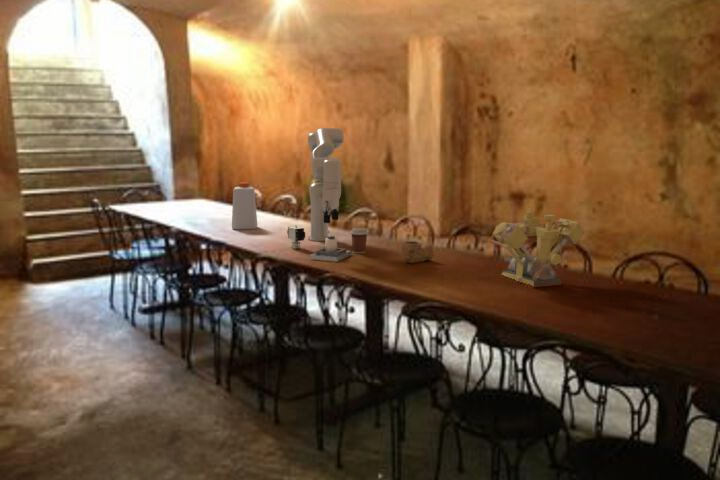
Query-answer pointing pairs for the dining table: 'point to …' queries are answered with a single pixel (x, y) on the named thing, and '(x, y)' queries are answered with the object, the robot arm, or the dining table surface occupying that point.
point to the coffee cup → (359, 239)
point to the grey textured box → (417, 251)
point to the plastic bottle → (244, 208)
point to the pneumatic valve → (296, 235)
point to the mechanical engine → (547, 247)
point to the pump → (331, 244)
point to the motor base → (330, 255)
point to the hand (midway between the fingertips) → (331, 221)
